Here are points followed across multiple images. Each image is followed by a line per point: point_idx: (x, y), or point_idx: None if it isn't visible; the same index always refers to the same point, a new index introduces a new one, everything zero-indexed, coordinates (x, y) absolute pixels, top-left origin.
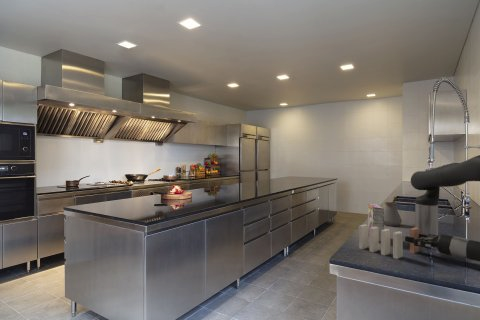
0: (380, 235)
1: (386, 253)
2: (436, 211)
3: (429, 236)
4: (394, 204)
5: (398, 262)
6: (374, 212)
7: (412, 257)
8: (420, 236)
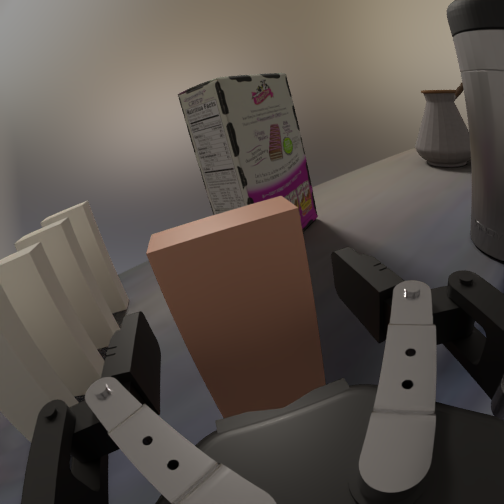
0: None
1: (70, 391)
2: None
3: (382, 368)
4: (444, 91)
5: (4, 479)
6: (188, 115)
7: (135, 493)
8: (361, 297)
